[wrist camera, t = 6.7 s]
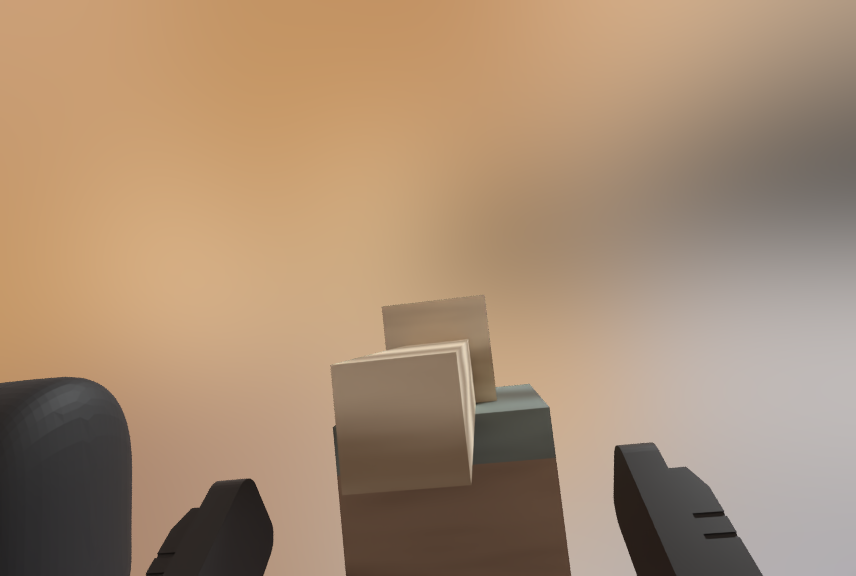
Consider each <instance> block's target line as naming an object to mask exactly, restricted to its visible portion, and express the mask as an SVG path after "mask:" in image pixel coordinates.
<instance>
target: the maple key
mask: <svg viewBox="0 0 856 576" xmlns="http://www.w3.org/2000/svg"><path fill="white" fill-rule="evenodd" d="M382 313H383V322H384V333H385V343H386V351H383V352H379V353H376V354H372V355H368V356H364V357H360V358H356V359H352V360H349V361H345V362H341V363H337V364H333V365H331V375H332V387H333V398H334V410H335V421H336V432H337V443H338V454H339V466H340V477H341V488H342V495H351V494H364V493H377V492H389V491H402V490H415V489H428V488H441V487H454V486H466V485H471V482H472V463H473V444H474V426H475V407H476V403H478V402H488V401H497V396H496V388H495V380H494V371H493V363H492V354H491V347H490V338H489V331H488V330H489V329H488V321H487V312H486V304H485V296H484V295H479V296H470V297H462V298H453V299H444V300H435V301H426V302H418V303H410V304H400V305H392V306H383V307H382Z"/></svg>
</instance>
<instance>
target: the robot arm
mask: <svg viewBox="0 0 856 576" xmlns="http://www.w3.org/2000/svg"><path fill="white" fill-rule="evenodd" d="M614 505H615V510H616V515H617V520H618V523H619V526H620V529H621V532H622V535H623V538H624V540H625V543H626V546H627V549H628V551H629V554H630V557H631V560H632V563H633V565H634V568H635V571H636V573H637V576H763V575H762V573H761V572H760V570H759V569H758V567H757V565H756V563H755V562H754V560H753V558H752V557H751V555H750V553H749V552H748V550H747V549H746V547H745V545H744V544H743V542H742V540H741V539H740V537H738V536H737V534H736V530H735V529H734V527H733V525H732V524H731V522H730V520H729V519H728V517H727V516H725V514H724V510H723V509H722V507H721V505H720V504H719V502H718V500H717V499H716V497H715V495H714V494H713V492H712V491H711V489H710V487H709V486H708V485H707V484H705V483H704V482H703V481H702V480H701V479H700V478H699V477H697V476H696V475H695V474H694V473H693V472H691V471H690V470H689V469H688V468H687V467H678V468H668V467H667V465H666V463H665V461H664V459H663V457H662V456H661V454H660V452H659V450H658V448H657V447H656V445H655V444H654V443H640V444H630V445H618V446H616V447H615V451H614ZM131 509H132V455H131V443H130V435H129V430H128V426H127V422H126V419H125V416H124V413H123V411H122V409H121V407H120V405H119V403H118V402H117V400H116V398H115V397H114V396H113V395H112V394H111V393H110V392H109V391H108V390H107V389H106V388H105V387H103V386H102V385H100V384H98V383H96V382H94V381H91V380H88V379H84V378H75V377H58V378H45V379H34V380H24V381H16V382H6V383H0V576H130V571H131V513H132V512H131ZM272 546H273V526H272V523H271V520H270V518H269V516H268V513H267V511H266V508H265V506H264V504H263V501H262V499H261V496H260V494H259V491H258V489H257V487H256V484H255V482H254V481H253V480H251V479H238V480H226V481H217V482H215V483H214V484H213V485H212V486H211V488H210V489H209V491H208V493H207V495H206V497H205V499H204V500H203V502H202V504H201V506H200V508H192V509H191V510H190V511H189V512H188V513H187V514H186V515H185V516H184V517H183V518H182V519H181V520H180V521H179V522H178V523H177V524H176V525H175V526H174V527H173V528H172V529H171V531H170V533H169V534H168V536H167V538H166V540H165V541H164V543H163V545H162V546H161V548H160V550H159V552H158V553H157V554H158V557H157V558H155V559H154V560H153V562H152V564H151V566H150V567H149V569H148V571H147V573H146V576H263V574H264V572H265V569H266V566H267V563H268V560H269V557H270V555H271V551H272Z"/></svg>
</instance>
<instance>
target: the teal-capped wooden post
mask: <svg viewBox="0 0 856 576" xmlns="http://www.w3.org/2000/svg"><path fill="white" fill-rule="evenodd" d="M495 388H496V396H497V401H488V402H478V403H476V407H475V426H474V444H473V463H472V482H471V485H466V486H454V487H441V488H428V489H415V490H402V491H389V492H377V493H364V494H351V495H342V488H341V477H340V466H339V454H338V443H337V432H336V425H335V426H334V427H333V434H334V445H335V456H336V466H337V479H338V490H339V501H340V512H341V523H342V534H343V546H344V557H345V569H346V576H571V571H570V563H569V556H568V549H567V540H566V532H565V525H564V517H563V509H562V502H561V494H560V486H559V478H558V470H557V463H556V455H555V447H554V440H553V432H552V424H551V416H550V408H549V406H548V405H547V404H546V403H545V402H544V401H543V399H542V398H541V397H540V396H539V395H538V393H537V392H536V391H535V390H534V389H533V388H532V387H531V385H530V384H524V385H515V386H504V387H495Z"/></svg>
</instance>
